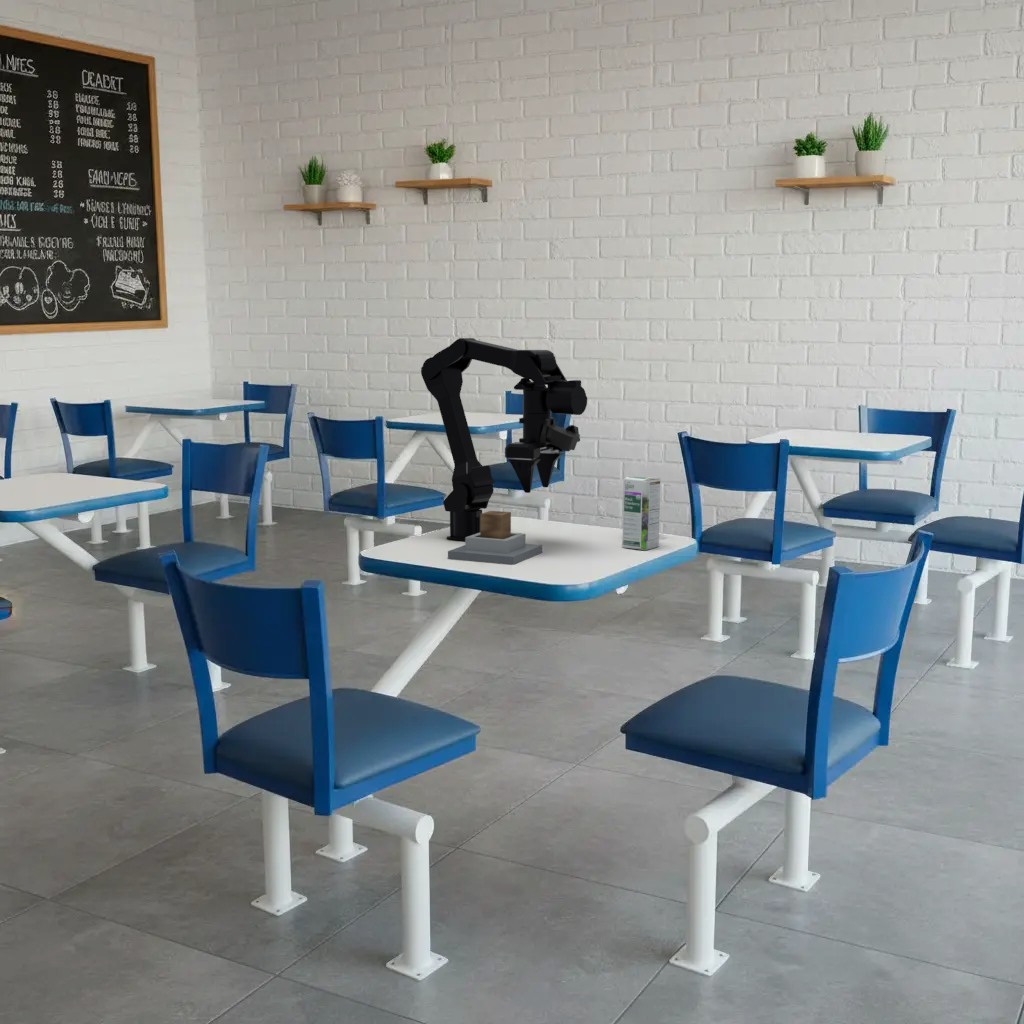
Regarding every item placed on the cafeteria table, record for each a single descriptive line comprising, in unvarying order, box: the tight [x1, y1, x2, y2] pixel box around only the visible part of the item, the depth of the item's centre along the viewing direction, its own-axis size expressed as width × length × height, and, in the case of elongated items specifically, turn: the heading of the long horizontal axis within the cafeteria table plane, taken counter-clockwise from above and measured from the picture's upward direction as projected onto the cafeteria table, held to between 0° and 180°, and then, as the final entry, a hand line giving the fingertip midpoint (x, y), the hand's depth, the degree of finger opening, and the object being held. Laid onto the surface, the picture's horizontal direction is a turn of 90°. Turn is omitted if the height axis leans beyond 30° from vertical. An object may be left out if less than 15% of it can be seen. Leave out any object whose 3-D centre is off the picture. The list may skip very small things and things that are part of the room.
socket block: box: [447, 532, 543, 565], centre depth 240 cm, size 14×14×4 cm
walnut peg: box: [480, 510, 512, 539], centre depth 240 cm, size 4×4×7 cm
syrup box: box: [621, 475, 661, 551], centre depth 249 cm, size 6×6×14 cm
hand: (536, 489), depth 247 cm, fingers open, 9 cm apart
